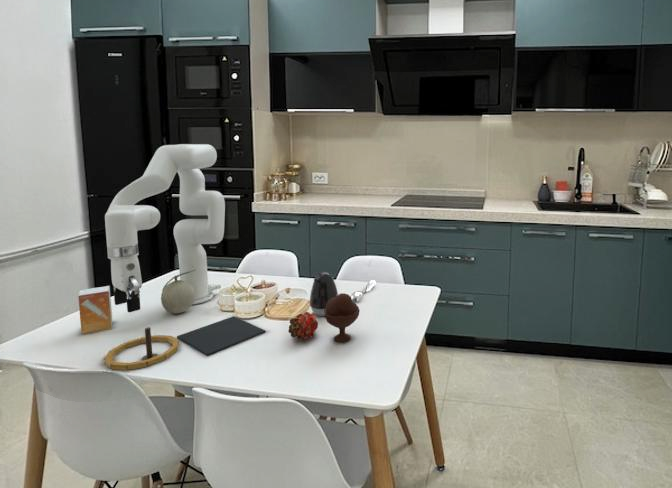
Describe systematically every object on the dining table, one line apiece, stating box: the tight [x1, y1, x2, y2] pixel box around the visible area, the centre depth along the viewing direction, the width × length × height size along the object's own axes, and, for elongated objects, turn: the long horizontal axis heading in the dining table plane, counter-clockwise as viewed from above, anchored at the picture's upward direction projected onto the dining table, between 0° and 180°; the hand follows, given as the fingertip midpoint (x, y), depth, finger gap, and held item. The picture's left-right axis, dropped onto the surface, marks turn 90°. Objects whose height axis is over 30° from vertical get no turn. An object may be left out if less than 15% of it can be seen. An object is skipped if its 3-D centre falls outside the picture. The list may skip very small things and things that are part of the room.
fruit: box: [160, 270, 195, 315], centre depth 155 cm, size 10×12×15 cm
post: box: [141, 326, 159, 361], centre depth 123 cm, size 4×4×9 cm
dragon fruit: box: [287, 311, 319, 341], centre depth 137 cm, size 8×8×12 cm
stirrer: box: [350, 280, 377, 303], centre depth 175 cm, size 20×4×5 cm
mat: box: [176, 315, 267, 356], centre depth 138 cm, size 19×19×1 cm
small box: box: [77, 285, 113, 335], centre depth 143 cm, size 8×6×13 cm
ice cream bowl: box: [324, 293, 360, 344], centre depth 134 cm, size 11×11×15 cm
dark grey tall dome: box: [309, 271, 339, 317], centre depth 154 cm, size 10×10×15 cm
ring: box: [103, 334, 180, 371], centre depth 127 cm, size 18×18×1 cm
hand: (127, 307), depth 130 cm, fingers open, 9 cm apart
